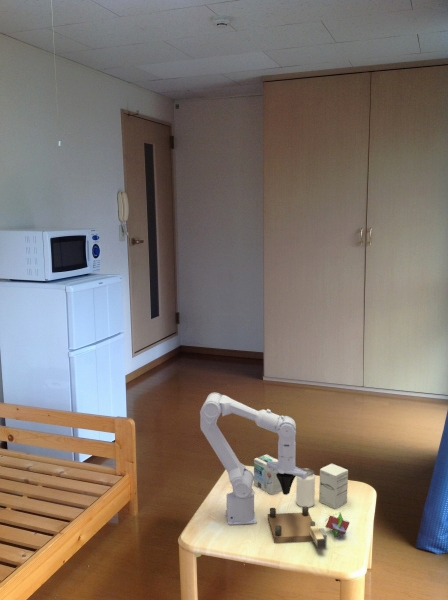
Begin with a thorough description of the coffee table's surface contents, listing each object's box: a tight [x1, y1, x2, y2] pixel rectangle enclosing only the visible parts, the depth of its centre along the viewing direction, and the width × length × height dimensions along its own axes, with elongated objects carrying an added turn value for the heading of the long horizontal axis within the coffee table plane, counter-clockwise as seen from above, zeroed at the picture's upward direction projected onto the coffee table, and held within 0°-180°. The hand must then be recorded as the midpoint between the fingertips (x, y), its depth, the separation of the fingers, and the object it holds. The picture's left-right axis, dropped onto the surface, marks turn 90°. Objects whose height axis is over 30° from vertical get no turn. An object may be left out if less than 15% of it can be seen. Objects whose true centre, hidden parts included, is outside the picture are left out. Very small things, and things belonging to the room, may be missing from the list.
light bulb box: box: [253, 453, 283, 496], centre depth 211 cm, size 11×7×11 cm, turn 37°
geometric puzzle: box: [324, 512, 351, 538], centre depth 180 cm, size 7×7×8 cm
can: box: [295, 467, 316, 509], centre depth 199 cm, size 6×6×12 cm
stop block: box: [318, 527, 328, 550], centre depth 174 cm, size 1×4×5 cm, turn 4°
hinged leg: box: [310, 520, 325, 549], centre depth 174 cm, size 10×2×3 cm, turn 8°
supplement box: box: [318, 463, 349, 510], centre depth 200 cm, size 7×7×13 cm
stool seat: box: [267, 506, 314, 544], centre depth 183 cm, size 14×14×4 cm
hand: (286, 493), depth 187 cm, fingers closed
